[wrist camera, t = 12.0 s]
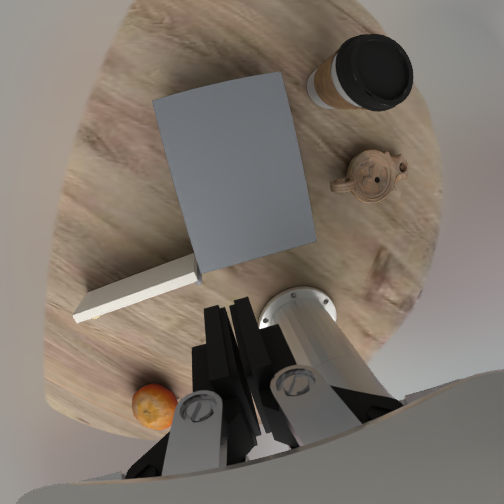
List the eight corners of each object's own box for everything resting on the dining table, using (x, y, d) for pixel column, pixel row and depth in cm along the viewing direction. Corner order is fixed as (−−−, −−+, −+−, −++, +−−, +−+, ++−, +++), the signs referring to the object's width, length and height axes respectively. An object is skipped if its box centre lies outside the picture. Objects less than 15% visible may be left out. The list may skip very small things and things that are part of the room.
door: (197, 251, 42) (197, 270, 36) (202, 266, 43) (204, 287, 37) (86, 292, 42) (72, 315, 35) (93, 305, 42) (80, 329, 36)
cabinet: (299, 226, 44) (316, 241, 37) (200, 253, 43) (201, 274, 36) (267, 82, 37) (280, 71, 30) (159, 108, 36) (152, 100, 29)
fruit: (168, 424, 51) (147, 442, 43) (140, 391, 52) (117, 404, 44) (197, 403, 50) (179, 422, 42) (168, 368, 51) (145, 381, 43)
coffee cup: (285, 91, 38) (330, 67, 24) (319, 48, 36) (373, 13, 22) (333, 130, 40) (395, 127, 26) (364, 87, 39) (430, 71, 25)
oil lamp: (395, 143, 42) (415, 145, 38) (400, 191, 45) (420, 197, 40) (317, 156, 41) (331, 158, 37) (325, 208, 44) (340, 216, 39)
